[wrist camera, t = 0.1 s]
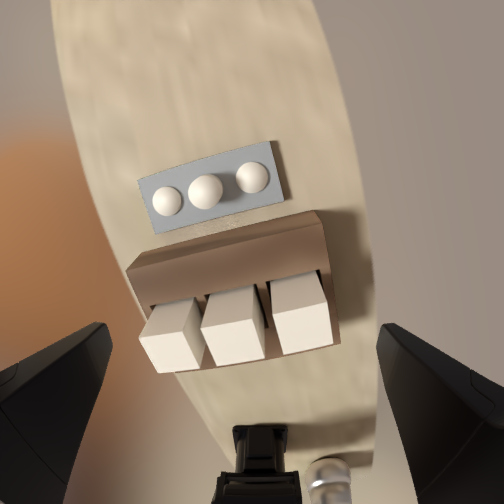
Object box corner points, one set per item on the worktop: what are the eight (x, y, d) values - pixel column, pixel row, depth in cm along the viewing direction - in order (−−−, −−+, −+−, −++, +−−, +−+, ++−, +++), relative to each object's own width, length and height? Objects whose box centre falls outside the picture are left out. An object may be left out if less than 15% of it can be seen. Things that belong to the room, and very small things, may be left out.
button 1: (320, 303, 23) (333, 343, 18) (279, 312, 23) (283, 354, 18) (313, 265, 22) (327, 302, 17) (269, 275, 22) (272, 314, 17)
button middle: (264, 315, 23) (264, 358, 19) (224, 323, 24) (217, 366, 19) (253, 279, 22) (252, 318, 17) (211, 288, 22) (200, 328, 18)
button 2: (209, 326, 24) (200, 368, 19) (173, 332, 24) (158, 373, 19) (196, 291, 23) (182, 331, 18) (159, 299, 23) (138, 337, 18)
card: (283, 199, 22) (286, 206, 20) (157, 232, 23) (148, 241, 21) (268, 140, 20) (270, 141, 18) (140, 179, 22) (128, 183, 20)
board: (332, 319, 26) (340, 343, 23) (183, 348, 27) (175, 372, 24) (313, 209, 22) (322, 223, 19) (141, 252, 24) (125, 270, 21)
